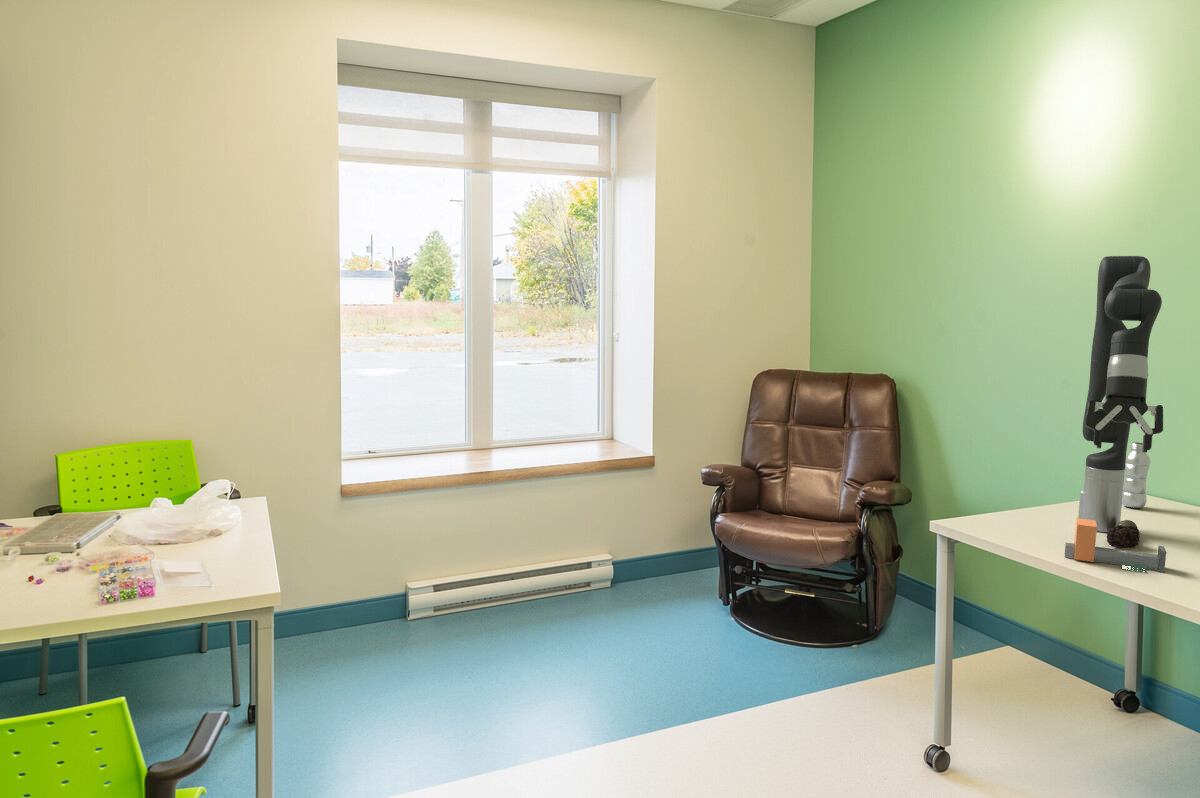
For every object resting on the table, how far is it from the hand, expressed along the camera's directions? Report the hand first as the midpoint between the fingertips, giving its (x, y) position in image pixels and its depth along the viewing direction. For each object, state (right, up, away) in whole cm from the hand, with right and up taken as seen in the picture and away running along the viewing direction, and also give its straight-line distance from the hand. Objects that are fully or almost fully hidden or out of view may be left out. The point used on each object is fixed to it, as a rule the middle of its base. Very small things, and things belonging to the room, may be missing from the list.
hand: (1121, 450), depth 178 cm
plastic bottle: (+49, -22, +71) cm, 89 cm away
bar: (+9, -28, +17) cm, 34 cm away
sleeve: (+3, -28, +19) cm, 34 cm away
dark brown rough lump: (+22, -27, +34) cm, 49 cm away
